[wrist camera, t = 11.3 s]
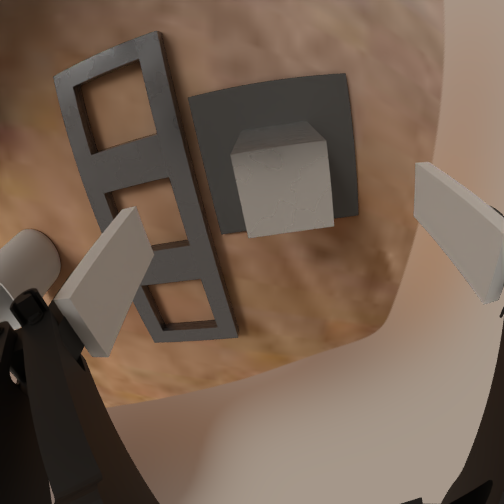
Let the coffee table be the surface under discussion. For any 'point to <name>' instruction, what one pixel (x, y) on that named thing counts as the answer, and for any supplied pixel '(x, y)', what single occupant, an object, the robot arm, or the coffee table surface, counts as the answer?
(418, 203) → the robot arm
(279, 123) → the rubber mat
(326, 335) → the coffee table surface
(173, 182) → the rail
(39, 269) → the cup
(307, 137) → the grey rectangular block
